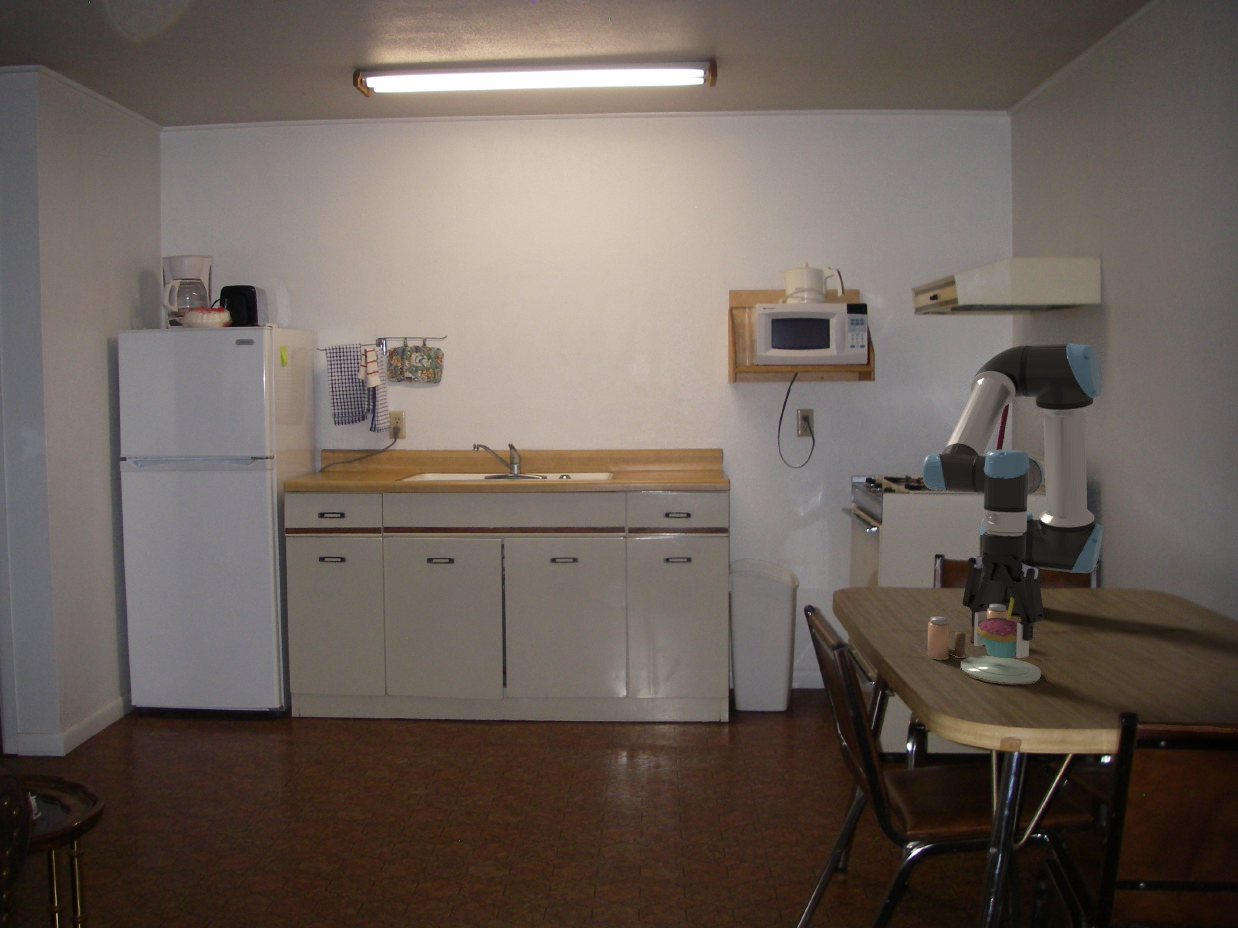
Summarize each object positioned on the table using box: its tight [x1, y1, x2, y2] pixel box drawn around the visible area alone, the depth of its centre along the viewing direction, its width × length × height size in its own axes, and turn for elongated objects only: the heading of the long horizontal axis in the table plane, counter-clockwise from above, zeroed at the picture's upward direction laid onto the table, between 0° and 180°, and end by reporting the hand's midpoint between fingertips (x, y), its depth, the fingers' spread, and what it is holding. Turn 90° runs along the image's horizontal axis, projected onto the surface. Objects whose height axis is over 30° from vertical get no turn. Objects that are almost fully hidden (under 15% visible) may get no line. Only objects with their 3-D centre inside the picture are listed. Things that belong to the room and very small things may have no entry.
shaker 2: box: [987, 604, 1008, 619], centre depth 191 cm, size 4×4×8 cm
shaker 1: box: [926, 616, 950, 658], centre depth 181 cm, size 4×4×8 cm
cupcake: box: [977, 597, 1019, 658], centre depth 171 cm, size 9×8×12 cm
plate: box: [960, 655, 1042, 683], centre depth 171 cm, size 14×14×1 cm
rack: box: [949, 618, 974, 657], centre depth 186 cm, size 7×14×5 cm, turn 122°
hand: (1000, 650), depth 171 cm, fingers closed on cupcake, 8 cm apart
